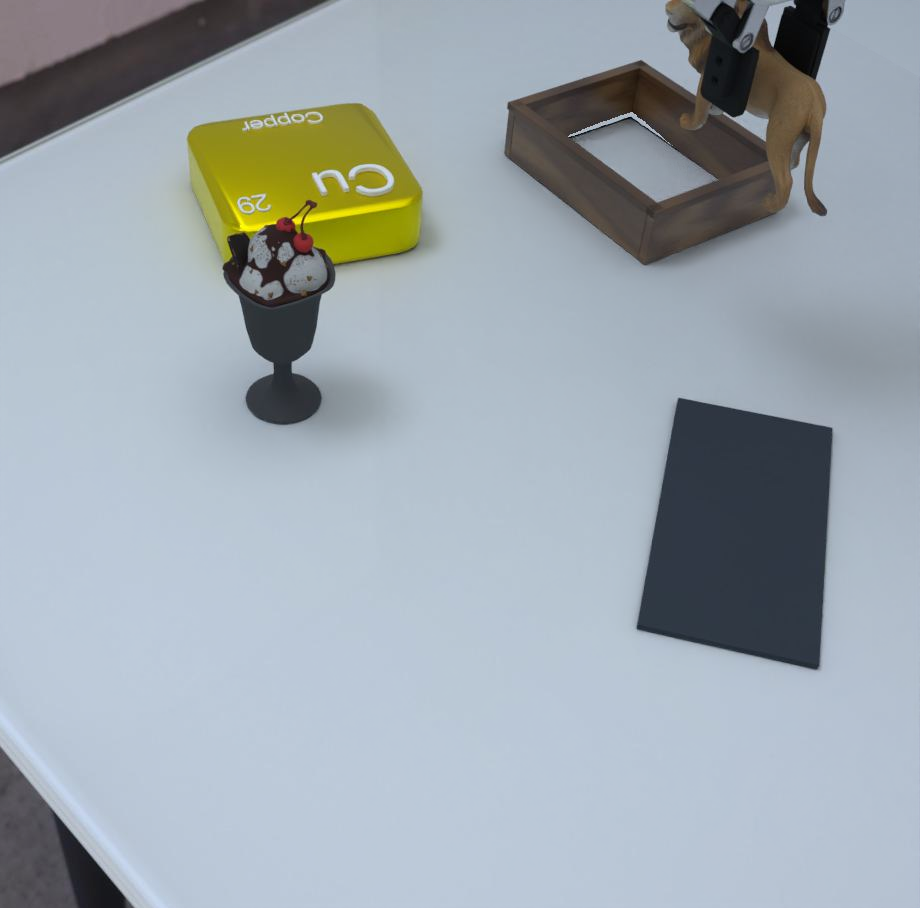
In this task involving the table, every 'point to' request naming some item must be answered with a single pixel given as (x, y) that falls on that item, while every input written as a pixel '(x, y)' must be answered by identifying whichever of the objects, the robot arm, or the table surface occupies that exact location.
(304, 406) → the sundae
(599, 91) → the wooden box
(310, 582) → the table surface
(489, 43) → the table surface
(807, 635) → the mat
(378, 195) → the element tile
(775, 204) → the lion figurine
